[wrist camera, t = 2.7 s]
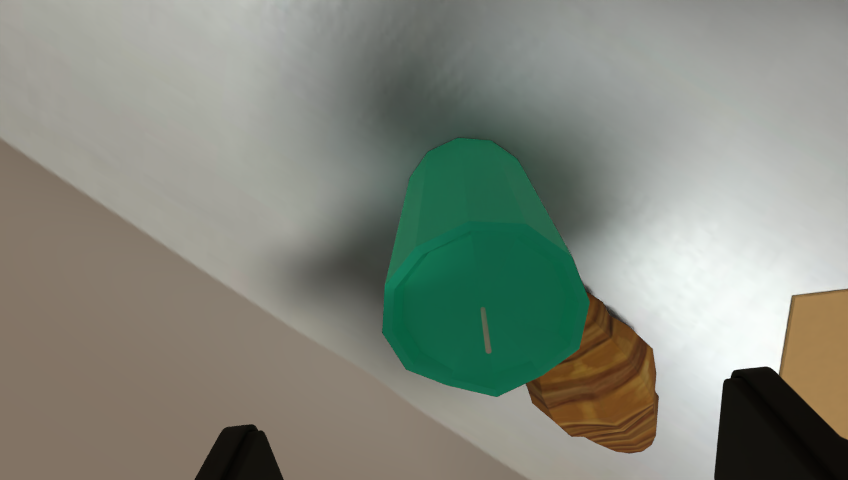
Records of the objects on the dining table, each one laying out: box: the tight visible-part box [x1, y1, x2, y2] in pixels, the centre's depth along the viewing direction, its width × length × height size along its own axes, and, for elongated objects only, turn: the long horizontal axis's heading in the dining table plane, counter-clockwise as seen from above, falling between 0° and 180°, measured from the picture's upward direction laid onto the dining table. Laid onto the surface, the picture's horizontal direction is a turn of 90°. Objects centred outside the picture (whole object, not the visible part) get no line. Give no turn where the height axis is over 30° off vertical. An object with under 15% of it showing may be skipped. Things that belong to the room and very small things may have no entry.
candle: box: [382, 138, 590, 397], centre depth 18 cm, size 6×6×12 cm
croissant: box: [526, 292, 659, 453], centre depth 24 cm, size 14×7×5 cm, turn 34°
